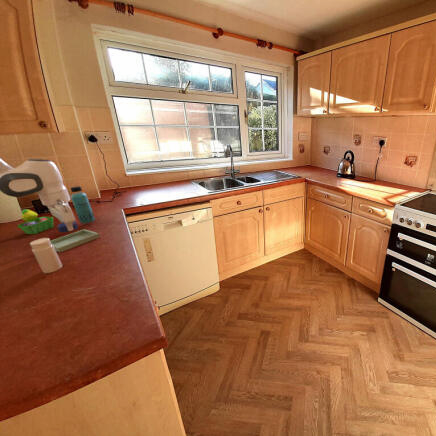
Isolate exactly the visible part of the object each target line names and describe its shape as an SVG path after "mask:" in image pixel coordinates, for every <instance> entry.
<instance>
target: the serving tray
mask: <svg viewBox="0 0 436 436" xmlns="http://www.w3.org/2000/svg"><path fill="white" fill-rule="evenodd" d="M99 238H100V234H99V233H98V232H95V231H92V230H89V229H85V228H84V229H81V230H78V231H75V232H72V233H69V234H66V235H64V236H60V237H57V238H54V239H52V240H51V239H50V242H51V244H53V246H54V248H55V250H56V252H58V253H62V252H65V251H68V250H70V249H73V248H75V247H77V246H80V245H83V244H86V243H89V242H91V241H94V240H96V239H99Z"/></svg>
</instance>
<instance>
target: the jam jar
mask: <svg viewBox="0 0 436 436" xmlns="http://www.w3.org/2000/svg"><path fill="white" fill-rule="evenodd" d="M50 241H51V239H50V238H49V237H41V238H37V239H35V240H33V241H31V242H30V243H29V245H30V247H31V252H32V253H33V255H34V257H35V260H36V262H37V263H38V265H39V267H40V269H41V271H42V273H43V274H49V273H50V274H51V273H53V272H56V271H58V270H60V269H62V268H63V263H62V261H61V259H60V256H59V254H58V253H57V251H56V250H55V248H54V246H53V244H51V242H50Z"/></svg>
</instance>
